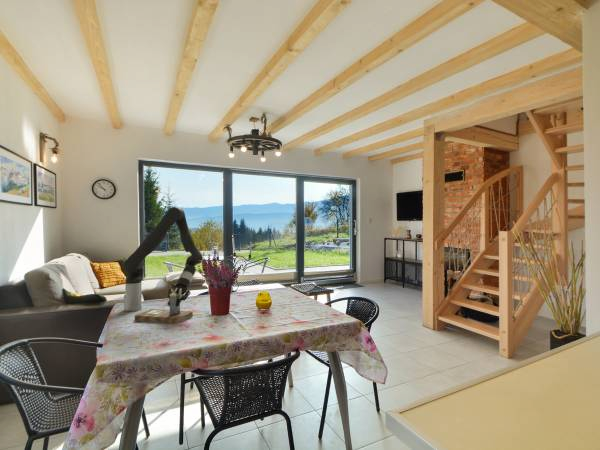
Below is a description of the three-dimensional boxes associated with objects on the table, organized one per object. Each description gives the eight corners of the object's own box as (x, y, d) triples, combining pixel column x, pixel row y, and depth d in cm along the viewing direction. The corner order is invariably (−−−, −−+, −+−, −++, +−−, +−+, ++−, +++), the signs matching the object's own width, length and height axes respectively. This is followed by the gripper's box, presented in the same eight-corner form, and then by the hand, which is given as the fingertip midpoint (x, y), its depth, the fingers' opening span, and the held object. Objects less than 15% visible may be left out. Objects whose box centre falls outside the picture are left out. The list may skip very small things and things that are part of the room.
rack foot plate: (134, 320, 181) (134, 314, 181) (150, 313, 195) (150, 308, 195) (179, 323, 176) (179, 317, 176) (192, 316, 189) (192, 310, 189)
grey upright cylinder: (169, 315, 182) (169, 294, 182) (173, 313, 186) (173, 292, 186) (175, 315, 182) (176, 294, 182) (179, 313, 186) (180, 293, 185)
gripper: (171, 276, 192) (158, 301, 181) (193, 277, 190) (181, 303, 178) (176, 283, 198) (164, 308, 186) (197, 284, 195) (186, 309, 183)
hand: (172, 305), depth 182 cm, fingers closed on grey upright cylinder, 4 cm apart
